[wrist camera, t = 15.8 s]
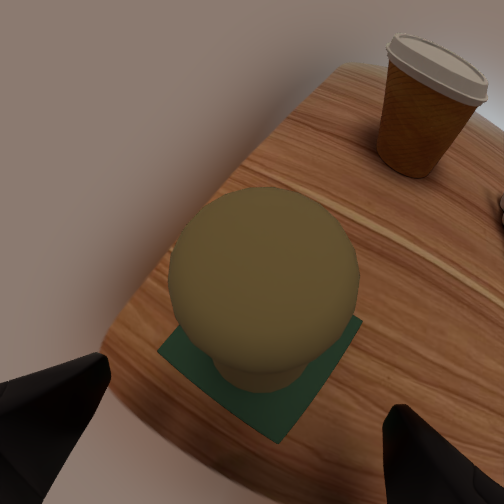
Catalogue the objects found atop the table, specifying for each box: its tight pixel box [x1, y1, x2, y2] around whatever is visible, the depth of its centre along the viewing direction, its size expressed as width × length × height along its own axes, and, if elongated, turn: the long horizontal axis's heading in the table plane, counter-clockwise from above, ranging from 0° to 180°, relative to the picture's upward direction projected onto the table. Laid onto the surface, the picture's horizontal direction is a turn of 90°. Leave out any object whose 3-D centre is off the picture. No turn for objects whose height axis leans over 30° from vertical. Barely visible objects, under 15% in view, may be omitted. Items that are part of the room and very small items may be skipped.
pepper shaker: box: [168, 187, 360, 393], centre depth 11 cm, size 6×6×11 cm
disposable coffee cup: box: [376, 33, 488, 178], centre depth 19 cm, size 10×10×12 cm
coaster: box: [157, 315, 363, 444], centre depth 16 cm, size 9×9×1 cm
